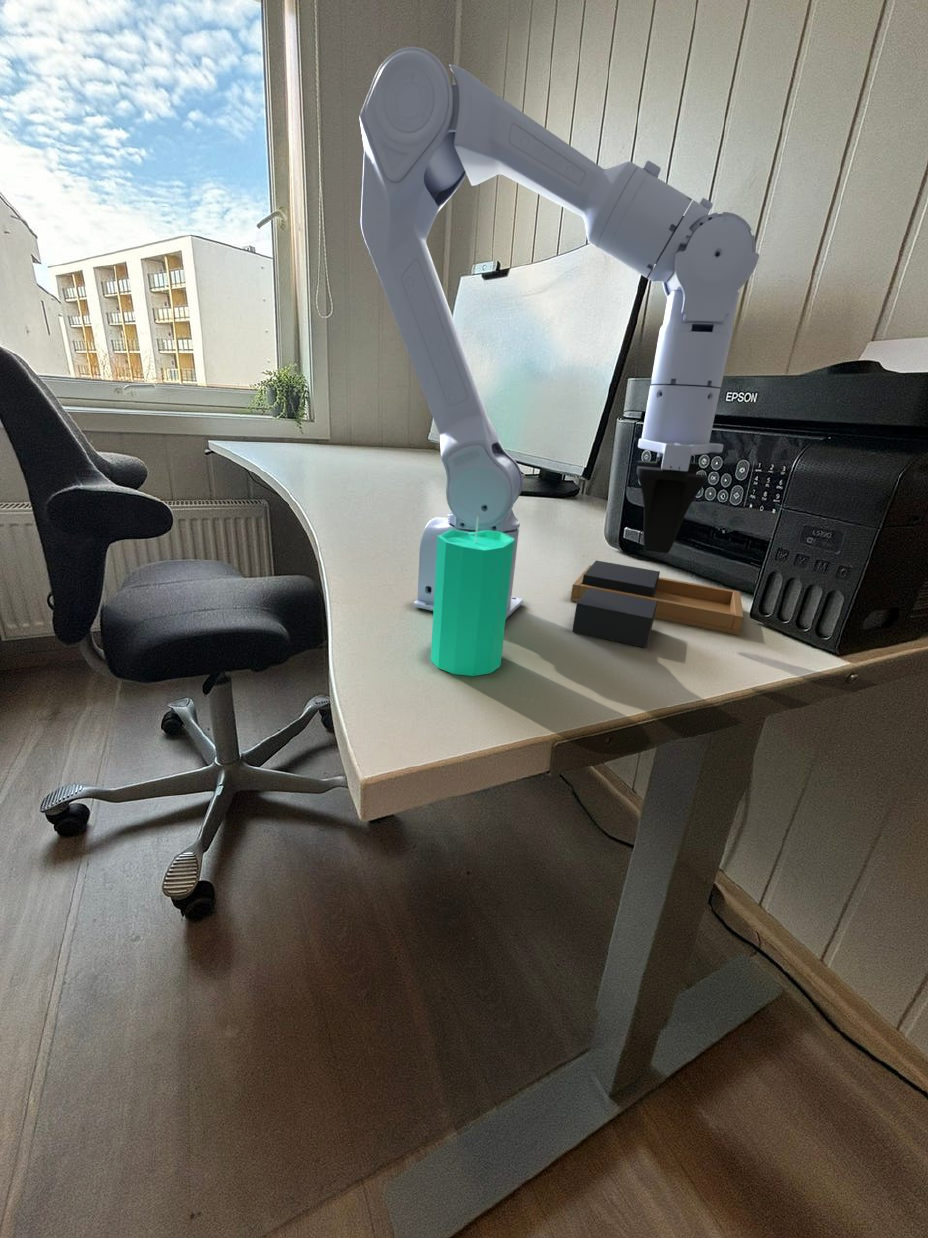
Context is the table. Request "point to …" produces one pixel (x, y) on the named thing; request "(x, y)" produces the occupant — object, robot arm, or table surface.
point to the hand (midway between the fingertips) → (655, 542)
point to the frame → (687, 603)
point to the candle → (470, 600)
